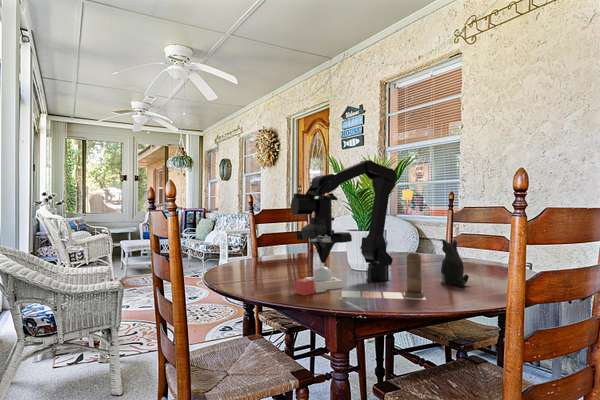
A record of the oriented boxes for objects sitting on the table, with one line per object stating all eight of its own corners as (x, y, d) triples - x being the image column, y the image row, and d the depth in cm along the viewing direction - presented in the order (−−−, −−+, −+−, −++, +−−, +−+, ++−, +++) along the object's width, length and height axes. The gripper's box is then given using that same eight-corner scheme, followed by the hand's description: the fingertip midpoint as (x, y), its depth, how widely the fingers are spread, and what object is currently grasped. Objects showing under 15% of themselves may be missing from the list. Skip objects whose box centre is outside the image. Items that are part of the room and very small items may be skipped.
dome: (327, 281, 126) (327, 264, 127) (335, 285, 121) (335, 267, 121) (311, 283, 124) (310, 265, 124) (318, 286, 119) (318, 268, 119)
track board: (422, 294, 114) (422, 292, 114) (428, 303, 104) (428, 300, 104) (341, 292, 117) (341, 289, 117) (339, 300, 107) (339, 297, 107)
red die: (305, 291, 119) (305, 278, 119) (314, 293, 116) (313, 280, 116) (295, 293, 116) (295, 279, 116) (304, 295, 113) (304, 281, 113)
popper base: (329, 284, 128) (329, 275, 128) (342, 290, 120) (342, 280, 120) (305, 286, 125) (304, 277, 125) (315, 292, 117) (315, 282, 117)
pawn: (415, 293, 112) (415, 250, 113) (427, 297, 108) (427, 252, 108) (401, 294, 111) (400, 251, 111) (412, 298, 106) (412, 253, 106)
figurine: (463, 282, 131) (462, 238, 131) (477, 288, 121) (477, 241, 121) (435, 282, 130) (435, 238, 130) (447, 289, 121) (447, 241, 121)
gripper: (284, 214, 123) (285, 263, 123) (330, 215, 111) (331, 269, 110) (307, 213, 131) (307, 259, 131) (352, 214, 119) (353, 264, 119)
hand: (323, 263), depth 123 cm, fingers closed
